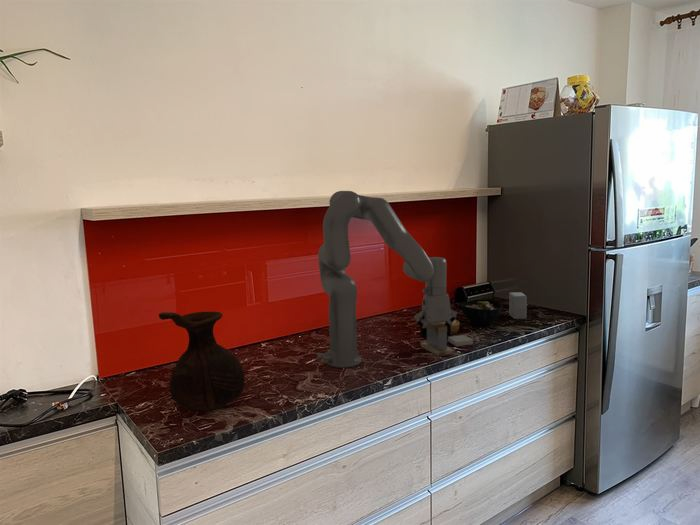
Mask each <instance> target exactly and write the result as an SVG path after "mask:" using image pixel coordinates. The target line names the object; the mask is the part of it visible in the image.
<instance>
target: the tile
mask: <svg viewBox="0 0 700 525" xmlns="http://www.w3.org/2000/svg"><path fill="white" fill-rule="evenodd" d="M447 342H449V343H450V344H452V345H454V347H462V346H469V345H471V346H472V345H474V339H472V338H471V337H469V336H467V335H466V334H462V335H461V334H459V335H450V336H447Z"/></svg>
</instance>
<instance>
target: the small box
mask: <svg viewBox="0 0 700 525" xmlns="http://www.w3.org/2000/svg"><path fill="white" fill-rule="evenodd" d="M508 294H509V296H508V298H509V299H508V309H509V310H508V311H509V312H508V315H509V316H510V317H511V318H513V319H514V320H520V319H521V320H523V319H527V313H528V312H527V311H528V308H527V305H528V304H527V300H528V299H527V295H525V294H524V293H523V292H521V291H519V292H509V293H508Z"/></svg>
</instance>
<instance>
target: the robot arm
mask: <svg viewBox="0 0 700 525" xmlns="http://www.w3.org/2000/svg"><path fill="white" fill-rule="evenodd" d="M352 218H353V219H359V220H364V221H370V222H371V223H372V224H373V226H374V228H375V229H376V231H377V232H378V234H379V235H380V237H381V239H382V240H383V242H384V243H385V244H386V246H388V247H389V249H391V250H393V251H394V252H395V253H397V254H398V255H399V256H400V257H401V258H402V259H403V260H404V262H403V265H402V271H403V272H404V274H405V275H406V276H408V277H409V278H411V279H414V280H417V281H418V282H422V283H423V282H425V286H424V288H423V289H422V293H424V294H423V299H422V303H421V304H422V305H421V310H420V312H418V313H417V314H415V315H414V316H413V318H414V320H415V322H416V324H417V325H418V326H419V327H420V336H421V338H422V339H426V340H427V327H426V326H427V324H428V323H438V322H446V323H445V324H444V325H446V326H447V335H448V336H447V337H451V335H450V332H451V325H452V322H453V321H454V320H456V317H457V314H458V312H457V311H456V310H455V311H454V310H452V309H451V308H452V307H451V301H450V296H449V293H447V265H448V264H447V259H446V258H445V257H440V256H433V257H429V256H428V255H427V253H426V252H425V250H424V249H423V247H422V246H421V245H420V243H418V241H416V239H414V237H413V236H412V235H411V234H410V233H409V232H408V230H407V229H406V228H405V226H404V225H403V223H402V221H401V220H400V219H399V217H398V215H397V214H396V212H395V210H394V209H393V208H392V206H391V205H390V202H388V201H387V200H386V199H385V198H382V197H377V196H376V197H372V196H365V195H362V194H358V193H356V192H355V191H352V190H338V191H336V192H334V193H333V194H332V195H331V196H330V198H329V207H328V208H327V210H326V212H325V214H324V217H323V221H322V233H323V244H321V245H320V248H319V249H318V254H317V257H318V268H319V275H320V276H319V277H320V283H321V287H322V290H323V291H324V292H325V293H326V294H327V296H329V302H328V321H329V322H328V324H329V327H328V328H329V348H328V349H327V351H325V353H317V354H316V357H317V360H323V361H326V364H327V366H331V367H332V368H338V369H339V368H342V369H343V368H352V367H356V366H359V365H360V364H362V362H363V357H362V356H361V355H359V354H358V344H357V343H358V339H357V338H358V334H357V300H358V299H357V296H358V287H357V284H356V282H355V280H354V279H353V278H352V277H351V276H350V275H349V274H347V273H346V269H347V268H348V267H349V266H350V264H351V261H352V260H351V258H352V256H351V255H352V254H351V247H350V246H351V245H350V238H349V223H350V221H351V219H352ZM420 319H421V320H420Z"/></svg>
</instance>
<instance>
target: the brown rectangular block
mask: <svg viewBox="0 0 700 525" xmlns="http://www.w3.org/2000/svg"><path fill="white" fill-rule="evenodd" d="M425 328H427V338H426V342H427V344H428V345H430V346H431V347H433V348H435V349H436V350H438V351H440V350H446V349H447V346H448V336H447V326H446V325H444V324H442V323H439V322H438V323H428V324H427V326H426V327H425Z"/></svg>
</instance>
